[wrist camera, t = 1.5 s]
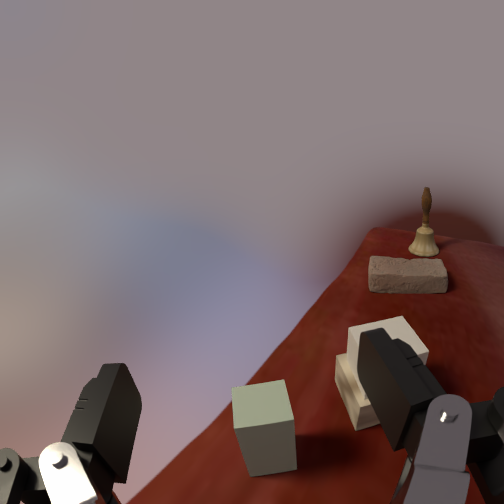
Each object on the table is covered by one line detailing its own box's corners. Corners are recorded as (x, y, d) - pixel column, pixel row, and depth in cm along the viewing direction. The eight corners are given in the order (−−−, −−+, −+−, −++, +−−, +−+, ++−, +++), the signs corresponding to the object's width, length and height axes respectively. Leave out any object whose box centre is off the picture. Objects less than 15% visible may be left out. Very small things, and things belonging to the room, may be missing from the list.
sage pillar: (246, 441, 31) (231, 387, 28) (289, 435, 32) (284, 379, 28) (250, 476, 27) (234, 428, 23) (296, 469, 27) (293, 419, 23)
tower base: (334, 382, 39) (336, 355, 37) (393, 365, 39) (398, 339, 37) (355, 432, 30) (360, 407, 29) (421, 409, 31) (430, 383, 29)
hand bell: (403, 245, 75) (405, 185, 69) (430, 242, 74) (433, 183, 68) (416, 258, 67) (419, 192, 61) (444, 255, 66) (449, 191, 60)
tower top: (346, 359, 36) (348, 327, 34) (396, 347, 36) (402, 315, 34) (364, 399, 29) (369, 367, 27) (419, 383, 29) (429, 351, 27)
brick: (439, 275, 59) (442, 255, 57) (447, 295, 52) (451, 273, 50) (368, 274, 65) (368, 255, 63) (367, 294, 58) (368, 273, 56)
